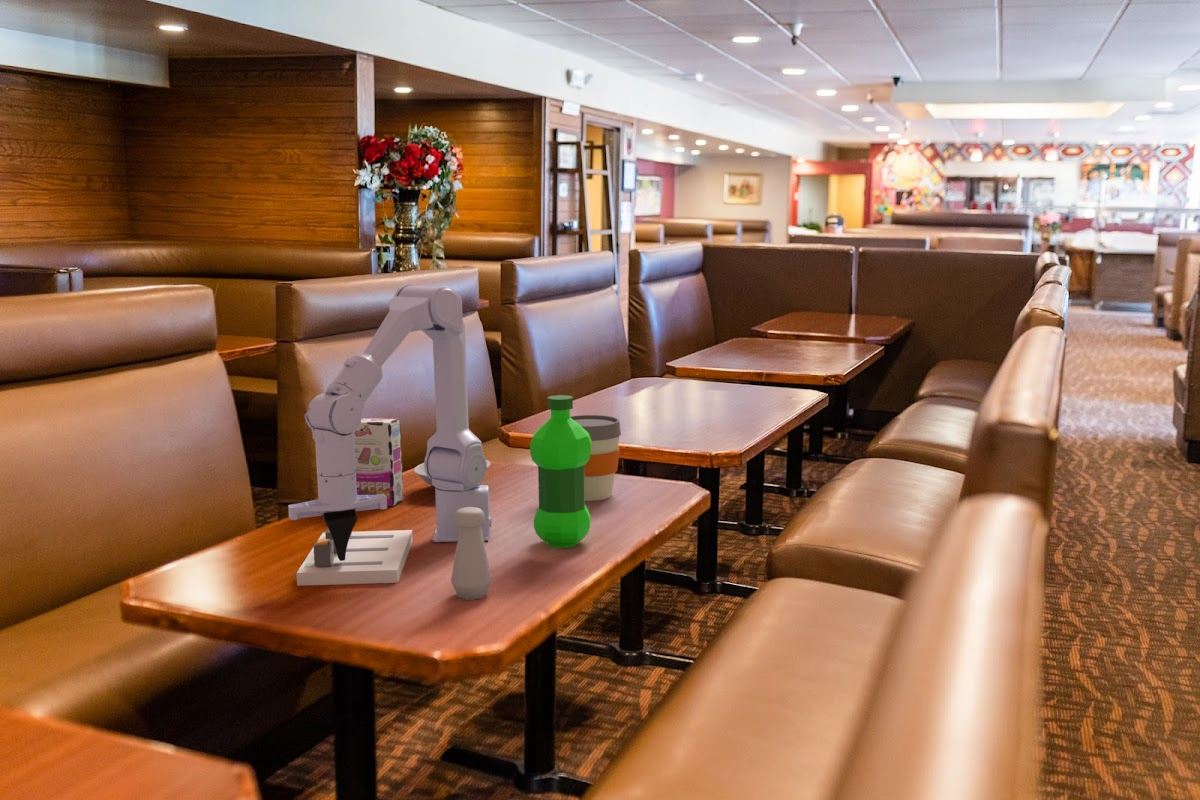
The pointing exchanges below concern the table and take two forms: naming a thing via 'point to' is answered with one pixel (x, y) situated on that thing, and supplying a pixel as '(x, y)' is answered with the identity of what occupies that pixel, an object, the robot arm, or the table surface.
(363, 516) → the table surface
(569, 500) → the plastic bottle
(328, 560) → the block
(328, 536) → the middle breaker
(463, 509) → the salt shaker
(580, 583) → the table surface
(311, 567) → the breaker panel
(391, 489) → the candy bar box
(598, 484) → the reusable coffee cup
